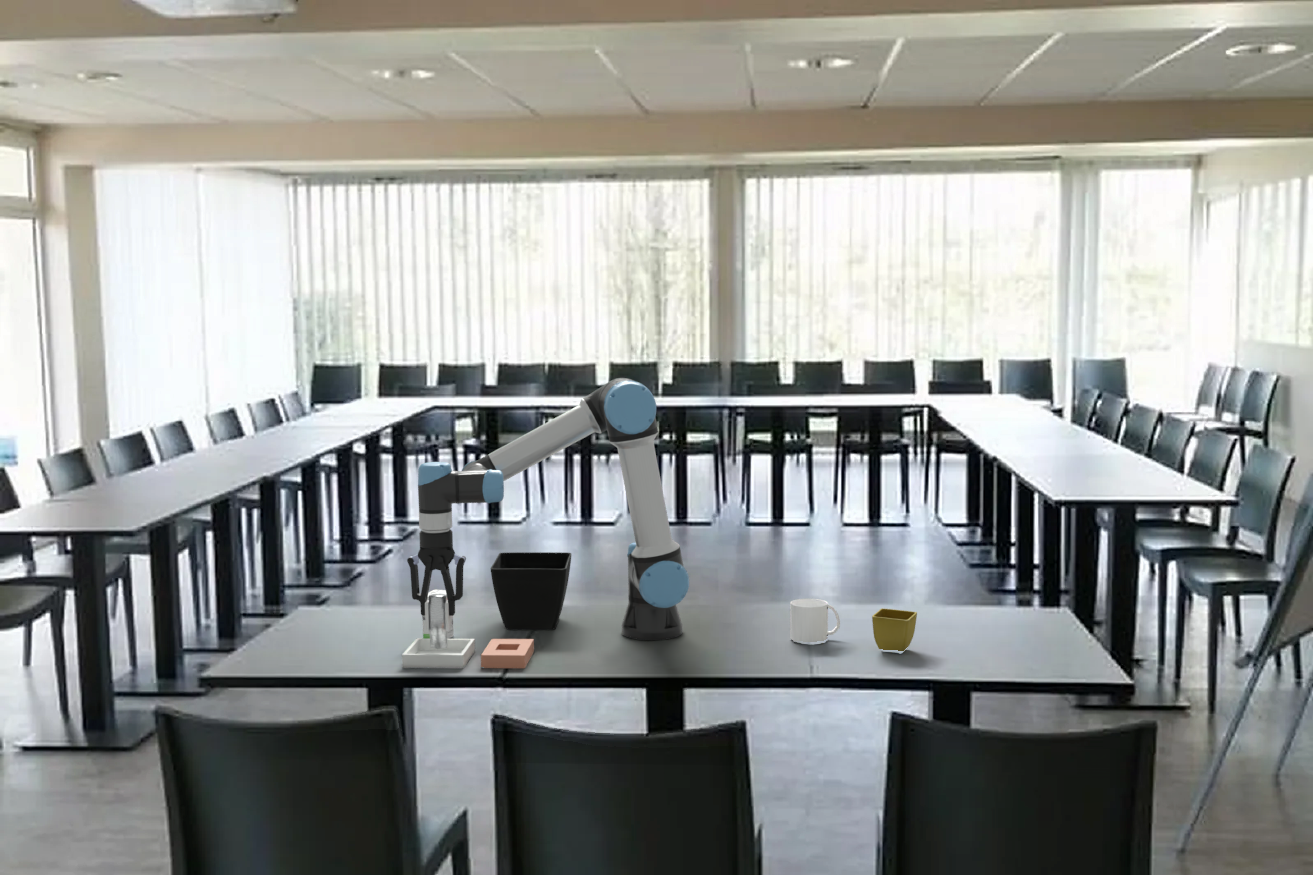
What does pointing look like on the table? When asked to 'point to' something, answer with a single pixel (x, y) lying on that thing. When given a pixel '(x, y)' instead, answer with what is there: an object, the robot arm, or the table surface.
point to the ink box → (425, 632)
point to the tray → (438, 654)
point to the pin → (437, 621)
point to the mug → (810, 620)
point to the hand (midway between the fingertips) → (438, 628)
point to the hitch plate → (507, 653)
